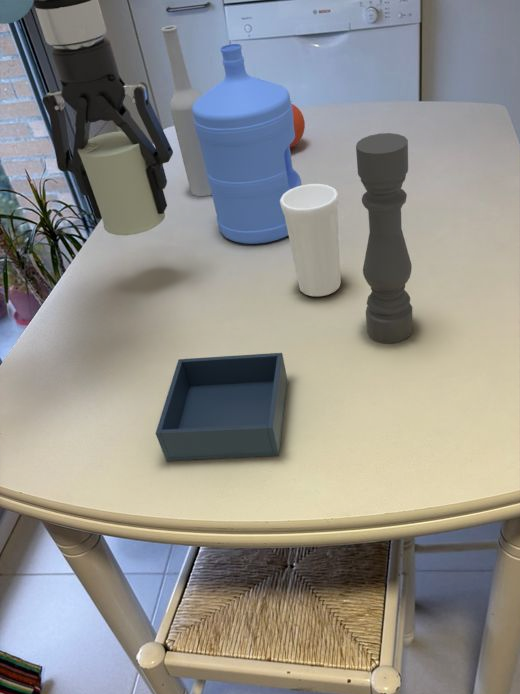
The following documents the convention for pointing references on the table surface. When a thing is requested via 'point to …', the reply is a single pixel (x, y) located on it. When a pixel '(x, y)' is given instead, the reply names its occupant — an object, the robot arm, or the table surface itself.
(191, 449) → the box
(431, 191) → the table surface
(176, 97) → the bottle
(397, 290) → the candle holder
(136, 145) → the can
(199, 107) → the water jug
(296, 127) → the tomato
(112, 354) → the table surface
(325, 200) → the cup
